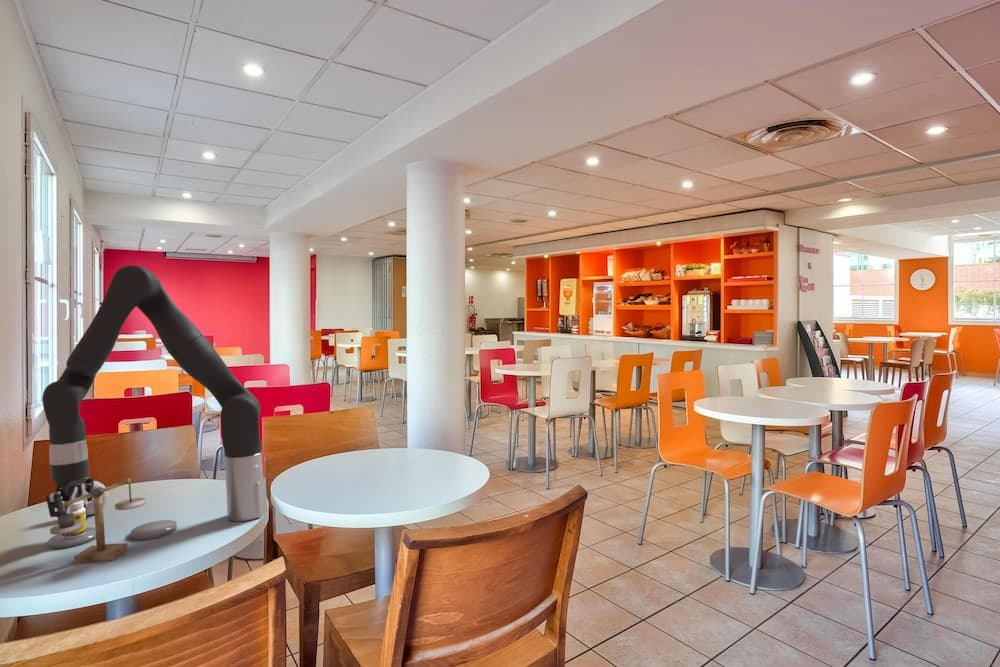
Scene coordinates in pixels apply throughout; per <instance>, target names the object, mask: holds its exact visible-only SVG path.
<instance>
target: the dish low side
mask: <svg viewBox="0 0 1000 667" xmlns="http://www.w3.org/2000/svg"><path fill="white" fill-rule="evenodd" d="M95 538H96V528H95V527H86V533H85V534H84V535H82V536H79V537H76V538H69V539H66V538H63V537H62V534H54V535H53V536H52V537H50V538H49V539H48V543H47V544H48V548H49V549H52V550H53V549H54V550H61V549H63V550H64V549H69V548H74V546H75V547H78V545H79V546H81V545H85V544H88V543H90V542H92V540H93V541H94V540H96V539H95Z"/></svg>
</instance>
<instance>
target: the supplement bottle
mask: <svg viewBox="0 0 1000 667" xmlns="http://www.w3.org/2000/svg"><path fill="white" fill-rule="evenodd" d="M83 506H84V503H83V500H81V501H78V502H76V503H74V505H73V506H71V509H70V514H74V521H82V522H83V527H82V528H80V529H78V530H76V531H73V532H69V533H64V534H62V537H63V538H66V539H69V538H76V537H79V536H82V535H84V534H85V533H86V528H87V520H86V509H85V508H84V507H83ZM63 509H64V511H65V507H63Z"/></svg>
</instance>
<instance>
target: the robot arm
mask: <svg viewBox="0 0 1000 667" xmlns="http://www.w3.org/2000/svg"><path fill="white" fill-rule="evenodd" d="M135 308H138V309H139V311H141V313H142V314H143V315H144V317H146V318H147V319H148V320H149V323H151V324H152V326H153V328H154V329H155V331H156V333H157V335H158V338H159V339H160V342H161V343H162V345H163V347H164V348H165V350H166V351H167V353H168V354H169V355H170V356H171V358H172V359H173V360H174V361H175V362H176V363H177V364H178V366H180V368H181V369H182V370H183V371H184V372H185V373H186V374H188V375H189V376H190V377H191V378H192V379H194V380H195V381H196V382H197V383H199V384H200V385H202V386H203V387H204V388H205V389H207V390H208V391H209V392H210V393H211V395H212V396H213V397H214V398H215V401H217V403H218V404H219V405H220V407H221V410H220V430H221V431H220V432H221V441H222V442H221V443H222V447H223V451H224V452H223V453H224V466H225V468H224V469H225V471H224V472H225V473H224V474H225V485H226V486H225V489H226V491H225V492H226V506H227V510H226V512H227V520H229V521H232V522H244V521H251V520H254V519H260V518H262V516H264V514H265V513H266V512H268V501H267V500H268V499H267V498H268V496H267V478H266V476H264V474H263V473H264V472H263V471H264V470H263V468H264V466H263V453H262V452H263V451H262V449H263V448H262V441H261V437H260V422H259V421H260V420H259V419H260V415H261V413H262V412H261V411H262V410H261V409H262V407H261V404H260V402H259V400H258V398H256V397H255V395H253V393H251V392H250V391H249V390H248V389H247V388H246V387H245V386H244V385H243V384H242V383H241V382H240V381H239V380H238V378H236V377H235V375H234V374H233V373H232V371H231V370H230V369H229V367H228V366H227V364H226V363H225V362H224V360H223V359H222V357H221V356H220V354H219V353H218V352H217V351H216V349H215V348H214V346H213V345H212V344H211V343H210V341H209V339H207V338H206V336H205V335H204V334H203V332H201V330H200V329H199V328H198V327H197V326H196V325H195V324H194V323H193V322H192V321H191V320H190V319H189V318H188V317H187V316H186V315H185V314H184V313H183V311H181V310H180V309H179V308H178V307H177V305H176V304H175V302H174V301H173V300H172V298H171V297H170V295H169V294H168V292H167V291H166V290H165V288H164V286H163V285H162V283H161V281H160V280H159V278H158V277H157V276H156V274H155V273H154V272H152V271H151V270H149V269H147V268H145V267H143V266H140V265H135V264H130V265H125V266H122V267H120V268H119V269H118V270H116V272H115V273H114V275H112V279H111V281H110V283H109V285H108V288H107V290H106V293H105V295H104V298H103V300H102V302H101V304H100V306H99V309H98V310H97V311H96V314H95V316H94V318H93V319H92V321H91V323H90V324H89V326H87V329H86V330H85V332H84V333H83V335H82V337H81V338H80V339H79V341H78V343H77V344H76V345H75V347H74V348H73V350H72V352H71V353H70V355H69V357H68V358H67V360H66V365H65V366H66V367H65V369H64V370H63V373H62V374H61V375H60V377H59V379H58V380H57V381H56V380H55V381H53V382H51V383H49V384H48V385H47V386H46V387H45V388H44V390H43V392H42V406H43V411H44V413H45V414H44V415H45V417H46V418H45V419H46V421H47V424H48V434H49V450H48V454H49V456H48V457H49V470H50V480H51V482H54V483H55V484H56V486H55V491H54V492H52V493H47V494H46V495H45V501H46V504H47V508H48V512H49V516H50V518H57V522H58V524H57V525H59V518H58V517H59V516H62V515H65V511H64V509H63V507H64V504H63V503H65V502H67V501H70V500H73V499H75V498H78V497H81V496H84V495H86V494H89V493H91V491H92V490H93V487H94V481H95V479H94V477H87V476H89V475H90V465H89V452H88V451H89V449H88V448H89V447H88V444H87V439H86V438H87V437H86V424H85V421H84V418H82V417H81V416H80V408H79V403H81V402H82V401H83V400H84V399H85V397H86V395H87V394H88V393H89V391H90V389H91V387H92V384H93V383H94V381H95V379H96V375H97V373H98V372H100V370H101V368H102V367H103V365H104V364H105V363H106V361H107V359H108V358H109V356H110V355H111V353H112V351H113V348H114V347H115V345H116V342H117V341H118V337H119V335H120V332H121V330H122V328H123V325H124V323H125V322H126V320H127V318H128V317H129V315H130V314H131V313H132V312H133V310H134V309H135ZM87 492H88V493H87ZM93 500H94V497H89V498H86V499H84V500H83V503H84V506H83V507H84V508H85V509H86V521H87V520H88V516H87V506H88V503H90V502H92V501H93ZM73 505H74V503H73V504H70V505H67V506H66V507H67V514H70V509H71V506H73Z"/></svg>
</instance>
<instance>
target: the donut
mask: <svg viewBox="0 0 1000 667" xmlns="http://www.w3.org/2000/svg"><path fill="white" fill-rule="evenodd" d="M98 487H102V488H105V487H106V486H105V485H104V484H103V483H101V482H100V481H97V480H94V487H93V490H94V489H96V488H98ZM87 494H88V492H87ZM109 497H110V496H109V490H108V491H106V492H104V494H103V495H102V502H103V508H104V507H105V506H106V505H107V502H108V501H109ZM88 515H89V516H91V515H95V513H94V499H93V500H92V501H90V502H88V506H87V517H89V516H88Z"/></svg>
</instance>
